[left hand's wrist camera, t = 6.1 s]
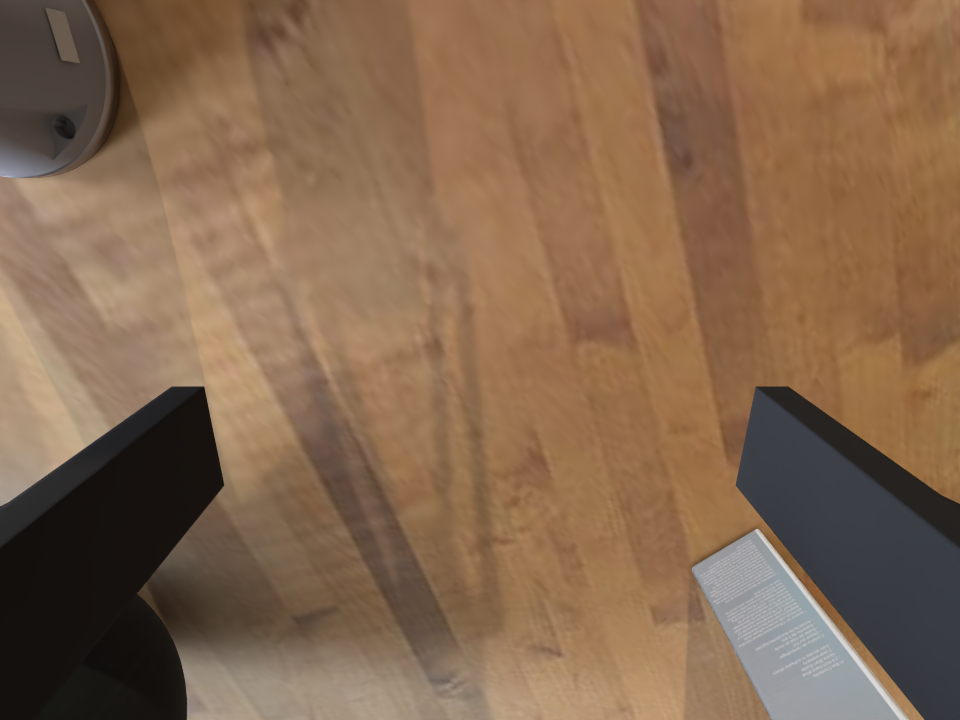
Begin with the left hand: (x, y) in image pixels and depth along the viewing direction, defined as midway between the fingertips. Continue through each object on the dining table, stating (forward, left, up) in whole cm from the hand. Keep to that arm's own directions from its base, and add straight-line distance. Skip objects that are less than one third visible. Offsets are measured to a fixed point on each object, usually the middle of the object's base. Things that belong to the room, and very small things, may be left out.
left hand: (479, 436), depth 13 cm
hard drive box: (+27, -34, -28) cm, 52 cm away
